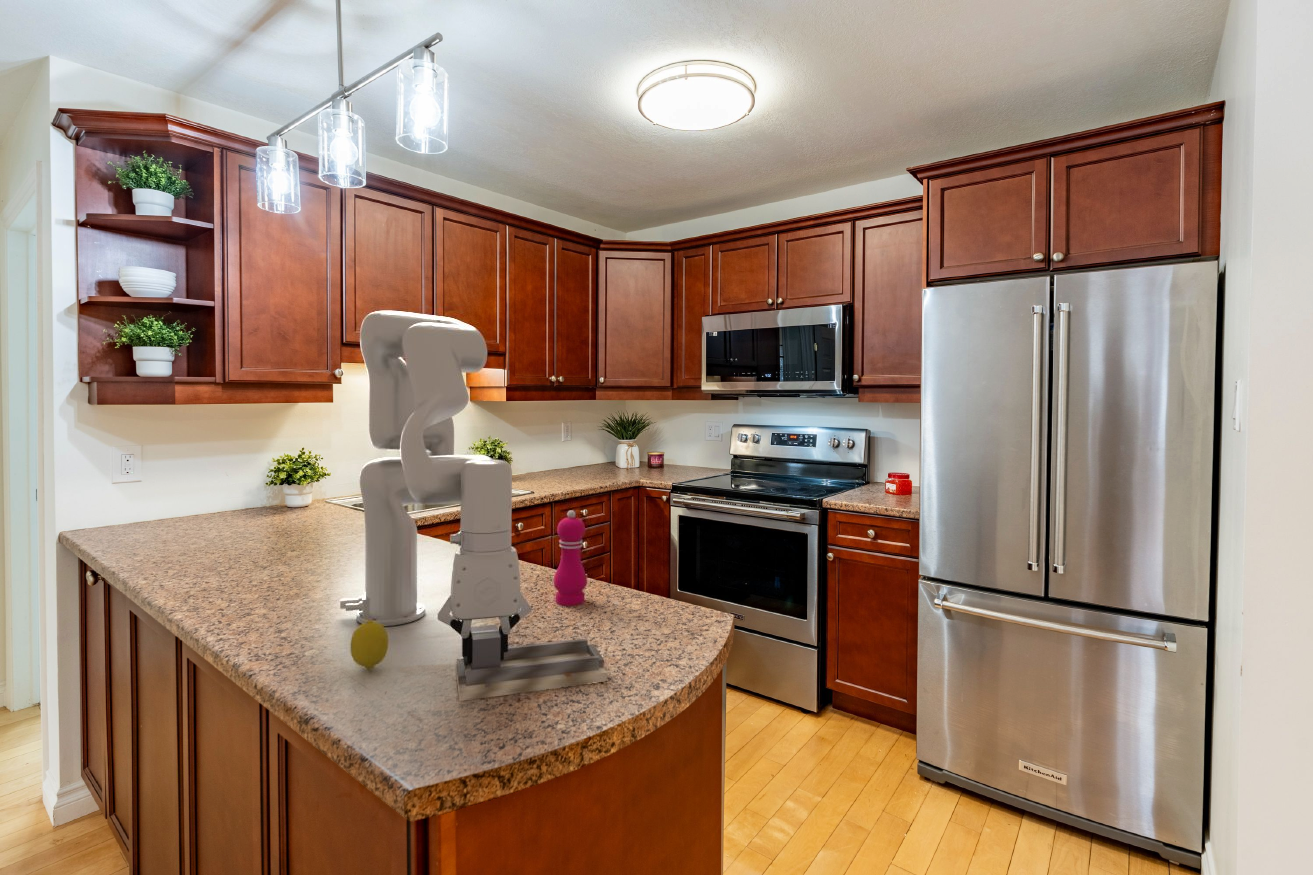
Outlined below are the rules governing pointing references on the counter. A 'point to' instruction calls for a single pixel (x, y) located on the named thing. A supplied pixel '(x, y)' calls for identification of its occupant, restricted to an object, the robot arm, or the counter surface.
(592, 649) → the fader board
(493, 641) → the fader knob
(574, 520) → the pepper mill
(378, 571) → the robot arm
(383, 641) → the lemon
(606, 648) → the counter surface
